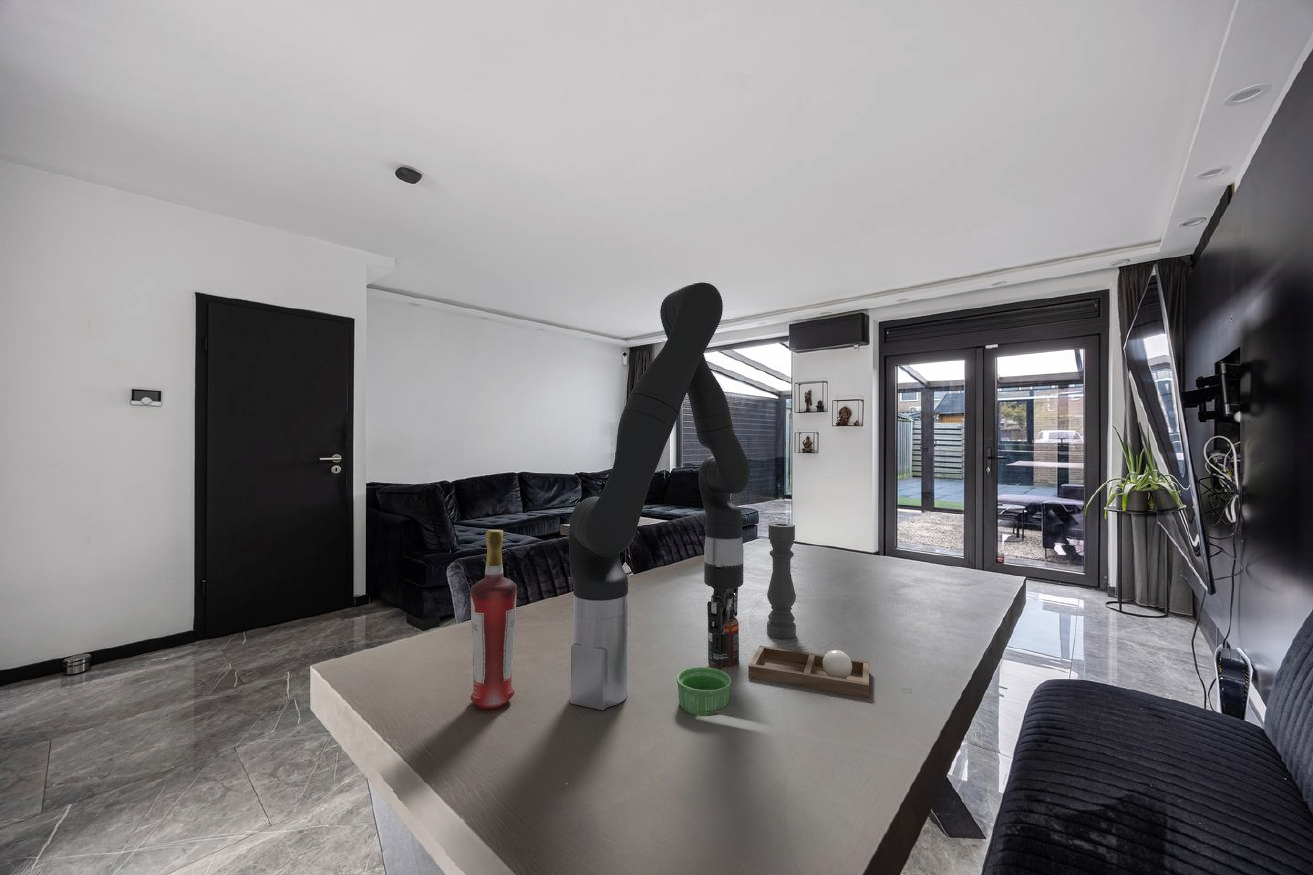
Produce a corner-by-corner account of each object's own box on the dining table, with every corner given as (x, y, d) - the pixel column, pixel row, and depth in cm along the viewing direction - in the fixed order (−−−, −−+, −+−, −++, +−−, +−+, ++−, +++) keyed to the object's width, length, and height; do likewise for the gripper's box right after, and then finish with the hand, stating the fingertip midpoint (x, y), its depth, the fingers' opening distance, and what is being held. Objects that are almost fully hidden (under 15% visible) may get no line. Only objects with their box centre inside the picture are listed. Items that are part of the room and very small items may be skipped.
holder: (868, 703, 88) (868, 685, 88) (748, 682, 95) (748, 665, 95) (869, 677, 97) (869, 661, 97) (759, 660, 105) (759, 645, 105)
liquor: (468, 696, 89) (470, 528, 90) (513, 689, 92) (515, 526, 92) (469, 717, 82) (471, 535, 83) (518, 709, 85) (520, 533, 85)
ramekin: (686, 722, 81) (686, 693, 82) (669, 695, 90) (669, 669, 90) (740, 714, 84) (740, 686, 84) (718, 689, 93) (719, 664, 93)
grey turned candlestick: (788, 646, 112) (789, 527, 113) (762, 639, 116) (762, 525, 117) (800, 638, 117) (800, 524, 118) (774, 632, 121) (774, 522, 122)
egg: (851, 687, 91) (851, 658, 91) (821, 682, 93) (821, 653, 93) (852, 675, 96) (852, 647, 96) (823, 671, 98) (823, 643, 98)
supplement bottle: (738, 660, 105) (738, 602, 105) (739, 673, 99) (740, 612, 99) (707, 659, 105) (707, 601, 106) (707, 671, 100) (707, 610, 100)
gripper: (715, 551, 111) (714, 632, 110) (693, 565, 97) (693, 658, 97) (751, 554, 108) (750, 637, 107) (733, 569, 94) (733, 664, 94)
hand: (723, 647), depth 102 cm, fingers closed on supplement bottle, 6 cm apart
